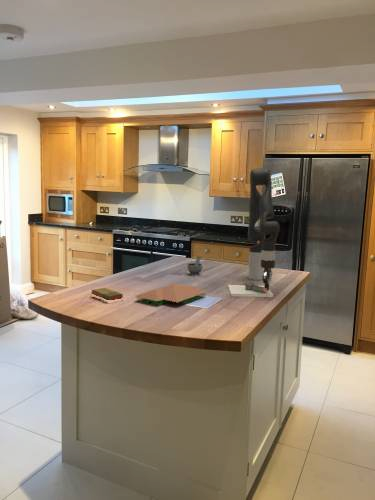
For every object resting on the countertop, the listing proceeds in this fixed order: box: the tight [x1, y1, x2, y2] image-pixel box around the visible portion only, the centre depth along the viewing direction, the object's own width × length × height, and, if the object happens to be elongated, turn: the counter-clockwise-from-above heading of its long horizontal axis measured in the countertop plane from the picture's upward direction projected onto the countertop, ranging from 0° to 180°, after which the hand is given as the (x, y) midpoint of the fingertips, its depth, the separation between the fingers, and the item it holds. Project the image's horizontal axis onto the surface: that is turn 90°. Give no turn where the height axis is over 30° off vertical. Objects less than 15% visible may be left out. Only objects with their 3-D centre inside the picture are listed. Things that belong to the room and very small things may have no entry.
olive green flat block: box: [91, 287, 124, 300], centre depth 215 cm, size 8×16×4 cm, turn 44°
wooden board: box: [135, 282, 207, 306], centre depth 218 cm, size 23×33×8 cm
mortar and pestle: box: [186, 255, 203, 276], centre depth 276 cm, size 11×9×12 cm
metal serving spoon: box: [244, 282, 267, 293], centre depth 231 cm, size 14×5×3 cm, turn 42°
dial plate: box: [227, 284, 274, 298], centre depth 235 cm, size 20×22×2 cm
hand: (266, 290), depth 229 cm, fingers closed
